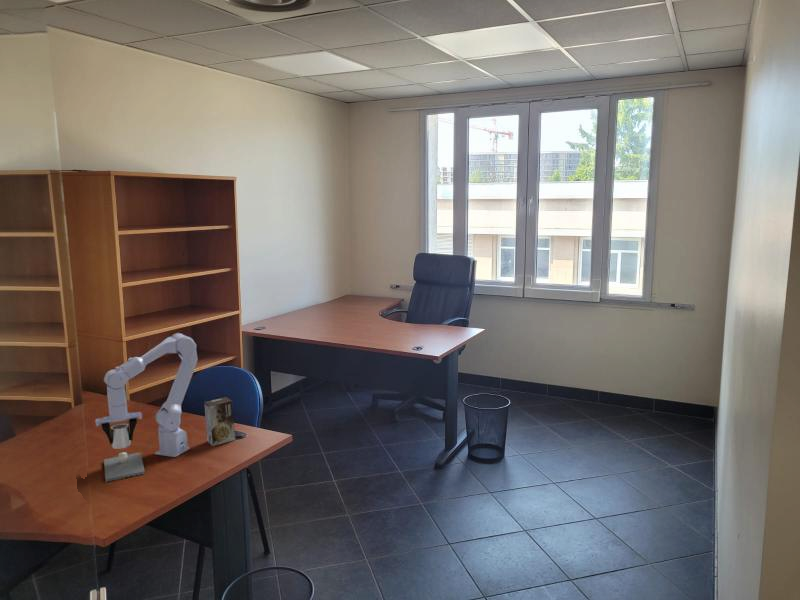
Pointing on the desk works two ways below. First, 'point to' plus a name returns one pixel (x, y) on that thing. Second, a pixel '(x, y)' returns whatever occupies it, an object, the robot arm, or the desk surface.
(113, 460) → the duct board
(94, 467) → the desk surface
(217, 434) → the coffee box
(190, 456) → the desk surface
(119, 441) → the collar
